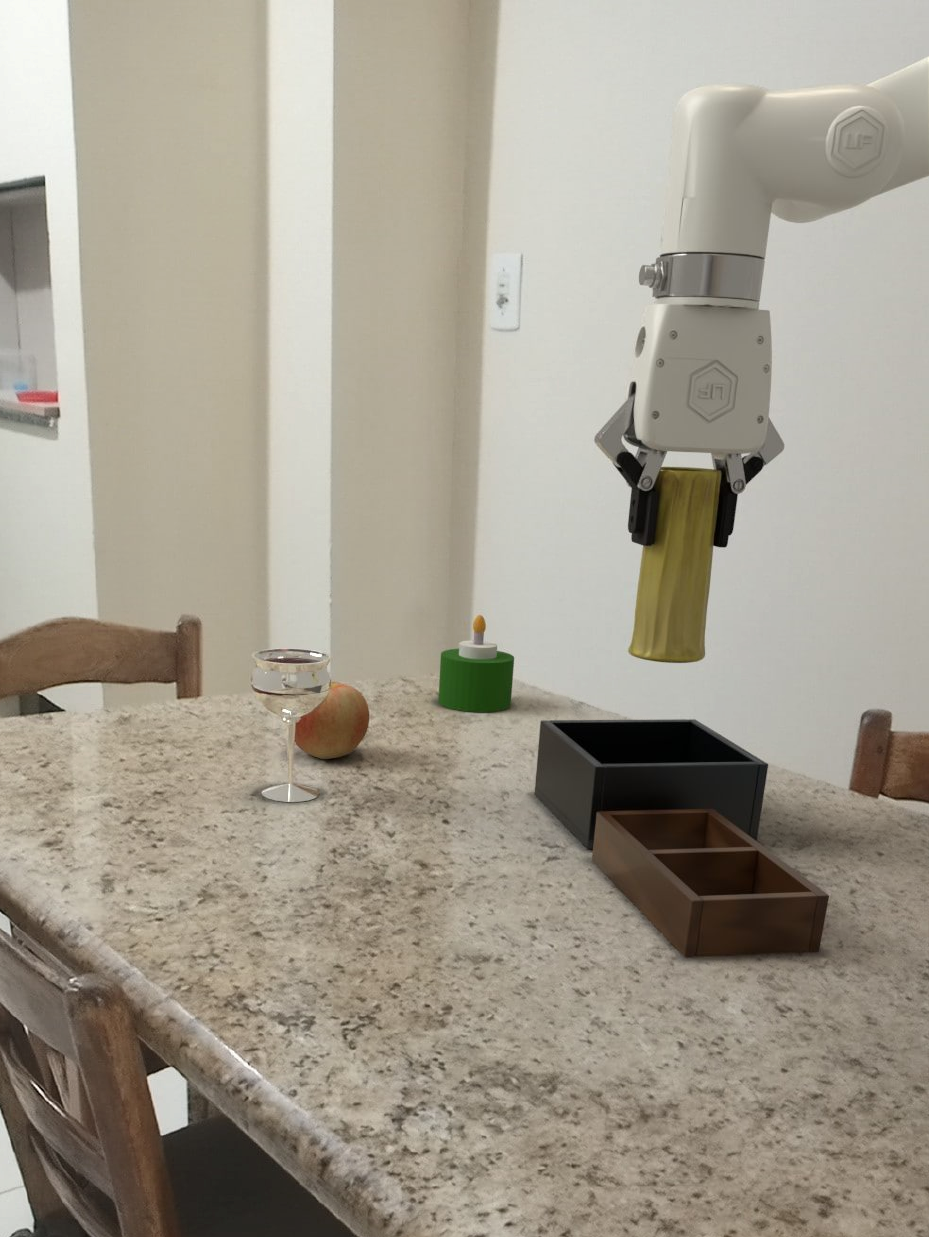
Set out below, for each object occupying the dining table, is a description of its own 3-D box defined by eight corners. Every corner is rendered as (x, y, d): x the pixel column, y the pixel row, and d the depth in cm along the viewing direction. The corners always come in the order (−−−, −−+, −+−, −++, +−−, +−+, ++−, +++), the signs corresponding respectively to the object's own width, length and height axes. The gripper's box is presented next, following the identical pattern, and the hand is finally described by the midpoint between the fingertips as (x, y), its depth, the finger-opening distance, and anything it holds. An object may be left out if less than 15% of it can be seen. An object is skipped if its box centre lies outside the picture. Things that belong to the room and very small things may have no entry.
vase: (705, 652, 106) (728, 469, 101) (703, 666, 101) (727, 473, 95) (630, 646, 108) (649, 464, 102) (624, 659, 102) (644, 468, 97)
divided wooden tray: (706, 856, 103) (713, 808, 101) (819, 951, 86) (829, 895, 85) (591, 860, 101) (596, 811, 99) (684, 958, 84) (692, 900, 83)
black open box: (686, 791, 119) (695, 719, 117) (756, 844, 106) (768, 764, 104) (534, 794, 116) (540, 720, 114) (587, 849, 103) (595, 766, 100)
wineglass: (287, 810, 109) (288, 668, 104) (235, 791, 113) (234, 653, 108) (345, 795, 113) (348, 658, 109) (293, 777, 118) (294, 645, 113)
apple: (305, 770, 120) (306, 684, 117) (273, 748, 127) (273, 666, 124) (382, 762, 124) (385, 679, 121) (348, 741, 130) (350, 662, 127)
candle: (516, 699, 151) (522, 612, 147) (504, 715, 144) (510, 624, 140) (446, 692, 153) (451, 606, 149) (431, 707, 145) (435, 617, 142)
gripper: (614, 276, 89) (590, 549, 96) (841, 291, 93) (802, 553, 99) (579, 282, 96) (558, 536, 102) (791, 296, 99) (758, 541, 106)
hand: (679, 542), depth 101 cm, fingers closed on vase, 5 cm apart
